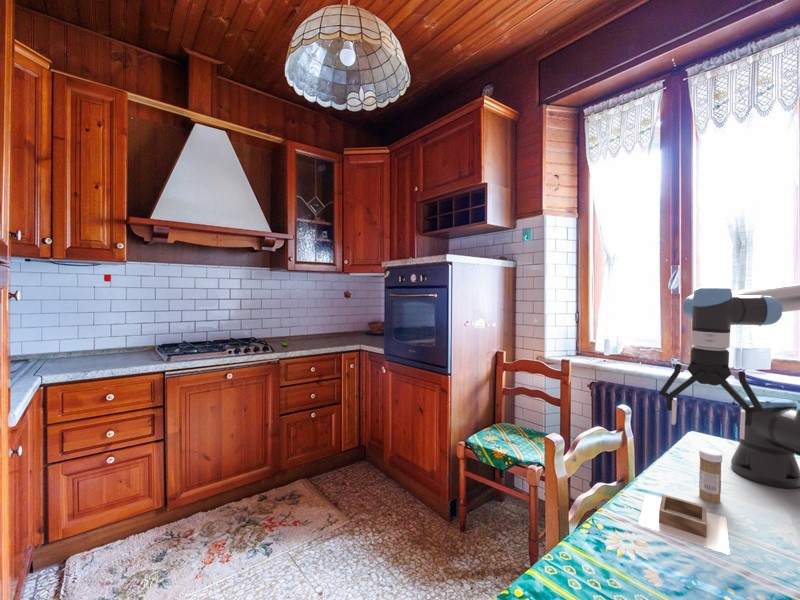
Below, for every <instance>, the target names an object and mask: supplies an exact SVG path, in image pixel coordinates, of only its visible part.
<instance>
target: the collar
mask: <svg viewBox="0 0 800 600" xmlns="http://www.w3.org/2000/svg"><path fill="white" fill-rule="evenodd" d="M666 509H669V510H673V511H676V512H679V513H682V514H686V515H689V516H692V517H696V518H699V519H702V521H698V520H695V519H692V518H689V517H685V516H682V515H679V514H676V513H672V512H669V511H666ZM707 509H708V508H707V506H705V505H701V504H698V503H695V502H692V501H687V500H684V499H681V498H678V497H674V496H670V495H668V494H664V493H662V495H661V503H660V509H659V523H661V524H665V525H668V526H671V527H674V528H677V529H680V530H683V531H686V532H689V533H692V534H695V535H698V536H701V537H704V538H706V536H707V512H708V511H707Z"/></svg>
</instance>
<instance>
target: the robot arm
mask: <svg viewBox="0 0 800 600" xmlns="http://www.w3.org/2000/svg"><path fill="white" fill-rule="evenodd" d="M682 310H683V313H684V314H685V315H686V316H687V317H688V318H691V319H692V320H691V340H690V344H691V345H692V347H691V348H690V363H689V364H685V363H684V364H683V363H681V362H680V361H679V362H676V363H675V366H674V370H673V372H672V373H671V375H670V376H669V378H668V380H667V381H666V382H665V384H664V385H663V386H662V387H661V389H660V391H659V393H658V394H659V395H660V396H662V397H665V398H666V411H668V412H669V411H670V412H671V416H670V417H671V418H670V419H671V420H670V421H671V422H670V423H671V425H673V426H675V425H676V423H677V409H678V408H677V407H678V406H677V403H678V402H677V400H678V398H677V396H678V395H679V394H680V393H682V392H683V391H684V390H685V389H687V388H688V387H690V386H691V385H692V384H694V383H695V382H697V383H699V384H702V385H710V386H715V387H716V386H719V385H720V386H721V387H722V388H723V389H724V390H725V391H726V392H727V393H728V394H729V395H730V396H731V397H732V398H733V400H734V401H735V402H736V403H738V405H739V406H740V408H739V444H738V446H737V447H736V449H735V451H734V453H733V455H732V458H731V460H730V468H731V469H732V471H733V472H735V473H736V474H737V475H739V476H741V477H743V478H746V479H748V480H751V481H753V482H756V483H759V484H762V485H766V486H771V487H774V488H776V487H777V488H784V489H800V466H799V464H798V462H797V459H796V457H795V455H798V456H800V409H797V408H798V405H797V403H796V401H795V400H791V399H786V398H780V397H771V396H770V397H769V396H757V395H756V394H755V392H754V391H753V389H752V387H751V386H750V383H749V382H748V381H747V377H746V372H745V370H743V369H739V370H733V369H732V370H731V369H730V366H729V365H730V364H729V363H730V351H729V350H728V349H729V348H730V346H731V345H730V344H731V343H730V341H731V328H732V327H731V326H734V325H736V326H759V327H760V326H768V325H769V326H770V325H773V324H776V323H778V322H779V320H780V319H781V318H782V315H783V313H787V312H795V311H796V312H797V311H800V283H795V284H787V285H778V286H777V285H776V286H768V287H760V288H753V289H741V290H735V291H732V289H731V288H730V287H698V288H695V289H694V291H693V293H692V294H690V295H689V296H687V297H686V298H685V299H684V300H683V303H682ZM686 370H687V371H688V372H689V373H690V375H691V376H690V377H689V378H687V379H686V380H685V381H683V382H682V383H681V384H679V385H678V386H677V387H676V388H674V389H673V390H672V391H670V392H669V391H668V390H669V389H670V387H671V386H672V385H673V383H674V382H675V380H676V379H677V378H678V377H679V375H680V373H684V372H685V371H686ZM730 376H733V377H734V379H735V380H736V381H739V383H740V385H741V387H742V389H743V390H744V392H745V394H746V396H747V397H742V396H741V395H740V393H739V392H738V391H737V390H736V389H734V387H733V386H732V385H731V384H730V382H728V380H727V379H729V377H730Z"/></svg>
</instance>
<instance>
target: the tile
mask: <svg viewBox="0 0 800 600" xmlns="http://www.w3.org/2000/svg"><path fill="white" fill-rule="evenodd" d="M661 498H662V497H661ZM661 498H660V497H657V496H653V495H650V494H645V497H644V500H643V505H642V508H641V513H640V515H639V519H638V524H637V525H638V526H641V527H645V528H648V529H650V530H653V531H657V532H660V533H663V534H665V535H668V536H672V537H674V538H677V539H679V540H682V541H686V542H689V543H691V544H695V545H698V546H700V547H704V548H706V549H709V550H712V551H715V552H718V553H721V554H724V555H727V556H731V553H730V544H729V532H728V525H727V517H725V516H722V515H719V514H715V513H711V512H708V511H707V536H706V538H704V537H701V536H698V535H695V534H692V533H689V532H686V531H683V530H680V529H677V528H674V527H671V526H668V525H665V524H661V523H659V509H660V503H661ZM666 511H669V512H672V513H676V514H679V515H682V516H685V517H689V518H692V519H695V520H698V521H702V519H699V518H696V517H692V516H689V515H686V514H682V513H679V512H676V511H673V510H669V509H666Z"/></svg>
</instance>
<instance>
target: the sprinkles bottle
mask: <svg viewBox="0 0 800 600" xmlns="http://www.w3.org/2000/svg"><path fill="white" fill-rule="evenodd" d="M698 453H699V455H698V456H699V472H698V473H699V477H698V479H699V481H698V484H699V485H698V489H699V492H698V493H699V495H698V497H699V498H700V499H701V500H704V501H706V502H708V503H712V504H720V503H721V493H722V462H723V454H722V453H721V452H720V451H718V450H716V449H713V448H712V449H711V448H707V447H706V448H705V447H703V448H700V449H699V452H698Z"/></svg>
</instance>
